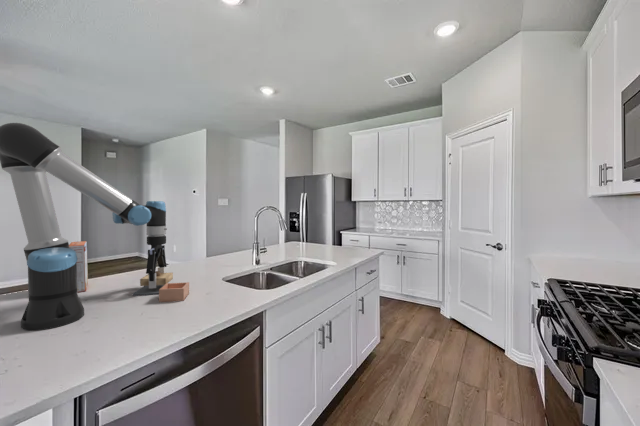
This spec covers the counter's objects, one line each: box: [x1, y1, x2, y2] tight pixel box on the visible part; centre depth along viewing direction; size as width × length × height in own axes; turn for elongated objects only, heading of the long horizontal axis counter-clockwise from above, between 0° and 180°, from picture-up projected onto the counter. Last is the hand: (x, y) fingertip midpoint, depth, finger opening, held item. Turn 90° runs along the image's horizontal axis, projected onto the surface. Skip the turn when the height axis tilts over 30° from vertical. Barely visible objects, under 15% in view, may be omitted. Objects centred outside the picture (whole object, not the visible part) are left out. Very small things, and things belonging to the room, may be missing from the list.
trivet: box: [132, 285, 164, 297], centre depth 126 cm, size 14×14×1 cm
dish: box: [158, 281, 190, 303], centre depth 116 cm, size 9×9×5 cm
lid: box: [139, 270, 174, 287], centre depth 126 cm, size 10×10×5 cm
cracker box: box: [69, 240, 89, 293], centre depth 126 cm, size 14×6×21 cm, turn 37°
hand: (157, 284), depth 126 cm, fingers closed on lid, 10 cm apart
